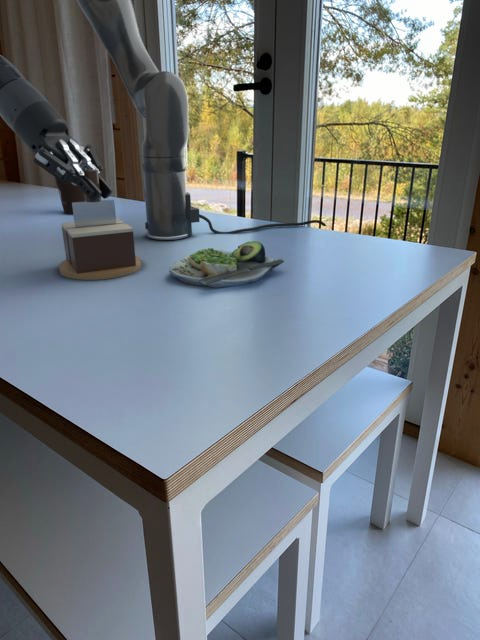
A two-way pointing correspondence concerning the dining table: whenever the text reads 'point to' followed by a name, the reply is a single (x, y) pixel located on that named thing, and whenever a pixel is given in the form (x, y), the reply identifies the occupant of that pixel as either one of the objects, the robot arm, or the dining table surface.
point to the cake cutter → (94, 208)
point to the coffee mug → (69, 195)
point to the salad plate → (225, 266)
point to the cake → (98, 251)
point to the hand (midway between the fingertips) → (103, 195)
